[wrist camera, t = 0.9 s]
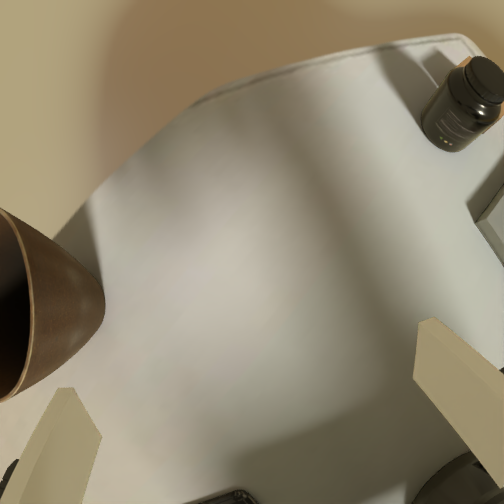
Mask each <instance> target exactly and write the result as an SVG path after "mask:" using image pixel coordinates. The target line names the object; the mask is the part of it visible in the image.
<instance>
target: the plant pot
mask: <svg viewBox="0 0 504 504" xmlns="http://www.w3.org/2000/svg"><path fill="white" fill-rule="evenodd" d="M104 314H105V298H104V294H103V291H102V289H101V287H100V285H99V283H98V282H97V281H96V279H95V278H94V277H93V276H92V275H91V274H90V273H89V272H88V271H87V270H86V269H85V268H84V267H83V266H82V265H81V264H80V263H79V262H78V261H77V260H76V259H75V258H74V257H72V256H71V255H70V254H69V253H68V252H66V251H65V250H64V249H63V248H61V247H60V246H59V245H57V244H56V243H55V242H53V241H52V240H51V239H49V238H48V237H46V236H44V235H43V234H42V233H40V232H39V231H37V230H36V229H34V228H33V227H31V226H29V225H28V224H26V223H25V222H23V221H21V220H20V219H18V218H16V217H15V216H13V215H11V214H10V213H8V212H6V211H5V210H3V209H1V208H0V403H2V402H4V401H6V400H8V399H10V398H12V397H13V396H15V395H17V394H18V393H20V392H22V391H24V390H25V389H27V388H29V387H31V386H32V385H34V384H36V383H37V382H39V381H41V380H42V379H44V378H45V377H47V376H48V375H50V374H51V373H52V372H54V371H55V370H56V369H58V368H59V367H60V366H62V365H63V364H64V363H65V362H66V361H68V360H69V359H70V358H71V357H72V356H73V355H75V354H76V353H77V352H78V351H79V350H80V349H81V348H82V347H83V346H84V345H85V344H86V343H87V342H88V341H89V340H90V338H91V337H92V336H93V335H94V334H95V332H96V331H97V330H98V328H99V327H100V325H101V323H102V321H103V318H104Z"/></svg>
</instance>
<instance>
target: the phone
mask: <svg viewBox="0 0 504 504" xmlns="http://www.w3.org/2000/svg"><path fill="white" fill-rule="evenodd" d="M199 504H258V503H257V502H256V501H255V500H254V498H253V497H252V496H251V495H250V494H249V493H248V492H246V491H244V490H236V491H233V492H230V493H228V494H225V495H222V496H220V497H217V498H214V499H211V500H208V501H205V502H202V503H199Z"/></svg>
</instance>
